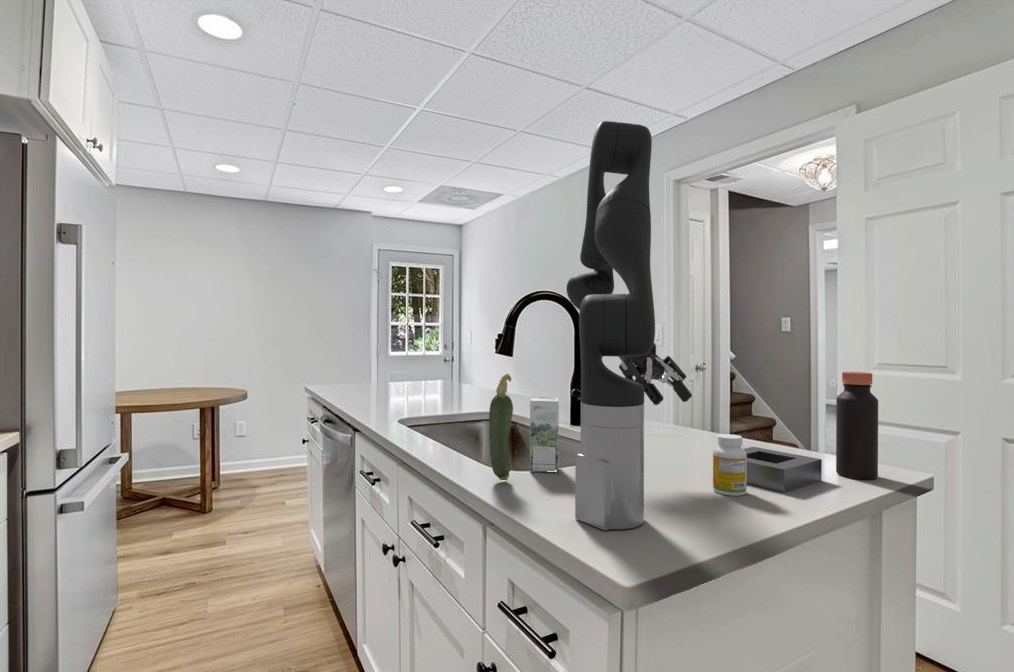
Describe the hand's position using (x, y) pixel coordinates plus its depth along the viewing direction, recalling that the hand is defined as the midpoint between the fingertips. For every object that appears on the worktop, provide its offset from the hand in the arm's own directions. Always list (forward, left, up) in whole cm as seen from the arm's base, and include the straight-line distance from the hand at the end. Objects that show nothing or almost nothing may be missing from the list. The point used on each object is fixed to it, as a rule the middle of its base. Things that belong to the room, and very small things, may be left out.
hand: (674, 400), depth 102 cm
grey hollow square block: (+14, -11, -15) cm, 23 cm away
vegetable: (-29, +16, -15) cm, 36 cm away
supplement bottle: (0, -12, -15) cm, 19 cm away
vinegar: (+30, -20, -15) cm, 39 cm away
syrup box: (-17, +18, -15) cm, 29 cm away
